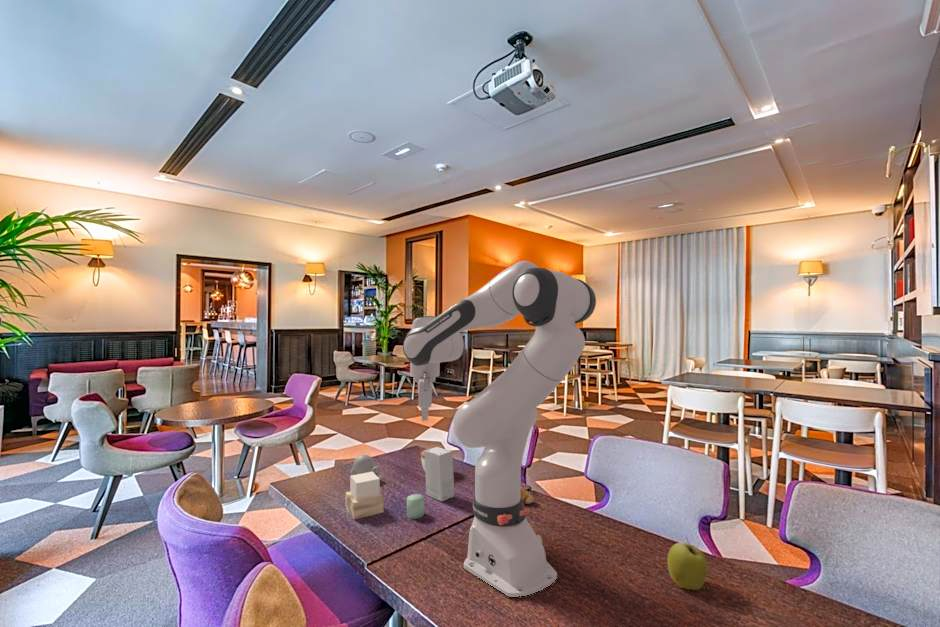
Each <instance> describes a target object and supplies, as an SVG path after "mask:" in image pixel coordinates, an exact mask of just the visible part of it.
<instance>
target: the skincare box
mask: <svg viewBox="0 0 940 627" xmlns="http://www.w3.org/2000/svg"><path fill="white" fill-rule="evenodd" d="M428 449H429V450H427V449H425V450H426V451H424V450H423V451H424V452H425V470H424V472H425V473H424V474H425V495H426V496H428V497H430V498H433V499H434V500H438V501H440V502H444V501H447V500H449V498H450V499H452V498H454V497H455V477H454V476H455V475H454V460H453V459H454V456H453V450H449V449H445V448H443V447H439V446H435V447H432V448H428Z"/></svg>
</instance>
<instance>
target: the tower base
mask: <svg viewBox="0 0 940 627" xmlns="http://www.w3.org/2000/svg"><path fill="white" fill-rule="evenodd" d="M344 493H345V495H344V496H345V498H344V499H345V500H344V501H345V505H344V506H345V507H346V508H345V509H346V511H347V512H348V514H349V515H350V517H351V518H352V520H358V519H362V518H366V517H370V516H374V515H377V514H378V515H379V514H382V513H384V512H385V511H384V509H385V508H384V505H385V504H384V503H385V502H384V501H385V500H384V499H385V498H384V495H383V494H382V493H381V492H380V495H379V496H375V497H370V498H366V499H361V500H357V501H356V499H355V498H354V497H353V495H352V494H351V493H350V490H349V491H345V492H344Z"/></svg>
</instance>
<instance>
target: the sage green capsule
mask: <svg viewBox="0 0 940 627" xmlns="http://www.w3.org/2000/svg"><path fill="white" fill-rule="evenodd" d="M424 515H425V496H424V495H423V494H419V493H414V494H410V495H408V496H407V497H406V516H407V518H408V519H414V520H415V519H416V520H417V519H420V518H422V517H423V516H424Z"/></svg>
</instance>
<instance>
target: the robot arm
mask: <svg viewBox="0 0 940 627" xmlns="http://www.w3.org/2000/svg"><path fill="white" fill-rule="evenodd" d="M596 299H597V298H596V294H595V292H594V290H593V288H592V287H591V286H590V285H589V284H588V283H586V282H585V281H584V280H581V279H579V278H576V277H575V278H574V277H573V276H570V275H569V274H566V273H564V272H562V271H558V270H557V271H556V270H552V269H547V268H545V267H539V266H537V265H536V264H535V263H533V262H531V261H528V260H519V261H518V262H516V263H513V264H512V265H510V266H509V267H507V268H505V269H504V270H502V271H501V272H499V273H498V274H497V275H495V276H494V277H492V278H491V280H489V281H488V282H487V283H486V284H484V285H483V286H482V287H481V288H479V289H478V290H477V291H474V293H472V294H471V295H469V296H467V297H465V298H463V299H462V300H461V301H459V302H458V303H456V304H454V305H452V306H451V307H449V308H448V309H446V310H444V311H443V312H442V313H441V314H439V315H438V316H434V315H426V316H420V317H416V318H415V319H414V320H413V321H412V324H411V329H410V330H409V331H408V332H407V334H406V336H405V337H404V339H403V344H402V350H403V354H404V356H405V357H406V359H407V360H408V361H409V362H410V363H409V367H410V368H409V370H410V371H409V377H412V378H414V382H415V383H417V391H418V392H417V393H418V407H419V408H420V410H421V412H420V413H421V421H422V422H426V421H428V420H429V411H430V409H429V408H431V407H432V406H433V404H432V403H433V402H432V400H433V393H432V392H433V389H432V388H433V386H432V383H435V382H436V378H437V377H440V372H441V370H440V368H441V366H440V364H441V363H444V362H445V363H447V362H453V361H457V360H459V359H461V357H462V356H463V355H464V351H465V339H464V336H463V334H462V332H464V331H468V330H473V329H474V330H475V329H481V328H491V327H497V326H501V325H503V324H506V323H508V322H509V321H511V320H514V319H515V318H516V317H517V316H519V315H520V314H521V315H522V316H523V319H524V322H525V323H526V324H527V325H528V326H530V327H535V331H534V334H533V335H532V337H531V338H530V339H529V340H528V341H527V343H526V344H525V345H524V346H523V348H522V349H521V350H520V352H519V353H518V355H517V356H516V357H515V358H514V359H513V360H512V362H511V363H510V364H509V365H508V366H507V368H506V369H505V370H504V371H503V372H502V373H501V374H500V375H499V376H498V377H496V378H495V379H494V380H493V381H491V383H489V384H488V385H487V386H486V387H485V388H484V389H482V390H481V391H480V392H479V393H478V394H477V395H476V396H474V397H473V398H472V399H471V400H470V401H468V402H466V403H465V404H464V405H461V406H460V407H459V408H458V409H457V410H456V411H455V414H454V416H453V423H452V424H453V430H454V434H455V436H456V438H457V439H458V441H459V442H460V443H461V445H463V446H465V447H467V448H471V449H472V448H473V449H475V448H477V449H478V448H483V451H482V453H481V454H480V456H479V458H478V459H477V461H476V463H475V465H474V466H475V468H474V496H473V498H472V501H473V502H472V513H473V516H474V517H473V519H472V524H471V526H470V528H469V534H468V546H467V547H468V548H467V557H466V558H465V560H464V561H463V570H466V571H467V572H469V573H470V574H472V575H474V576H475V577H476V576H477V578H478V579H479V578H480V579H479V580H481V579H482V580H483V581H482V580H481V581H482V582H484V581H485V582H486V584H487V583H488V584H489V585H488V584H487V585H488V586H490V585H491V586H493V587H494V588H496V589H497V590H499V591H501V592H502V593H504V594H505V595H507V596H510V597H519V596H520V597H519V598H522V597H521V596H525V597H527V596H526V595H529V596H531V595H530V594H532V595H534V594H533V593H535V592H538V591H540V592H542V591H544V590H545V589H544V588H546V587H548V586H550V585H551V584H552V583H553V582H554V583H556V581H557V580H558V577H557V576H558V572H557V571H556V570H555V568H554V567H553V566H552V565H551V564H550V563H549V562H548V561H547V555H546V550H545V547H544V545H543V538H542V536H541V535H539V534H536V532H535V531H534V529H533V528H532V526H531V524H530V523H529V521H528V519H527V518H526V516H527V515H528V514H529V512H527V511H529V509H528V508H526V509H525V504H524V503H523V501H522V498H521V486H522V475H521V474H522V465H523V464H522V463H523V458H524V453H525V450H526V446H527V441H528V438H529V436H530V432H531V431H532V428H533V427H534V425H535V424H536V421H537V419H538V408H537V407H539V406H540V405H541V404H542V403H544V402H545V400H546V399H547V398H548V397H549V396H550V394H552V393H553V391H554V390H555V389H556V388H557V387H558V385H560V383H561V382H562V381H563V380H564V379H565V378H566V376H568V374H569V373H570V371H571V370H572V369H573V367H575V365H576V363H577V361H578V360H579V359H580V357H581V354H582V353H583V351H584V349H585V347H586V338H585V336H584V334H583V332H582V330H581V329H580V328H579V327H578V326H577V325H576V324H579V323H583V322H585V321H586V320H588V319H589V318H590V317H591V316H592V314H593V313H594V311H595V309H596V306H597V305H596V303H597V300H596ZM556 579H557V580H556ZM555 580H556V581H555ZM485 582H484V583H485ZM554 583H553V584H554ZM553 584H552V585H553ZM552 585H551V586H552ZM491 586H490V587H491ZM551 586H550V587H551ZM493 587H492V588H493ZM494 588H493V589H494ZM548 588H549V587H548ZM496 589H495V590H496ZM543 589H544V590H543ZM546 589H547V588H546ZM497 590H496V591H497ZM541 590H542V591H541ZM499 591H498V592H499ZM502 593H501V594H502ZM538 593H539V592H538ZM504 594H503V595H504ZM535 594H536V593H535ZM505 595H504V596H505ZM507 596H506V597H507Z"/></svg>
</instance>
